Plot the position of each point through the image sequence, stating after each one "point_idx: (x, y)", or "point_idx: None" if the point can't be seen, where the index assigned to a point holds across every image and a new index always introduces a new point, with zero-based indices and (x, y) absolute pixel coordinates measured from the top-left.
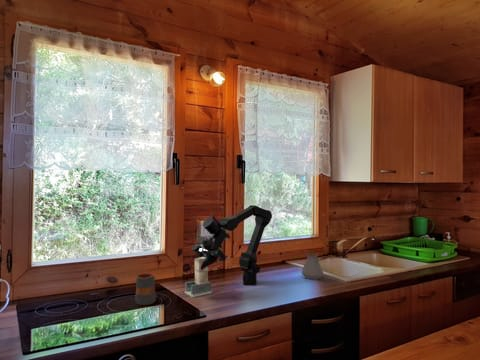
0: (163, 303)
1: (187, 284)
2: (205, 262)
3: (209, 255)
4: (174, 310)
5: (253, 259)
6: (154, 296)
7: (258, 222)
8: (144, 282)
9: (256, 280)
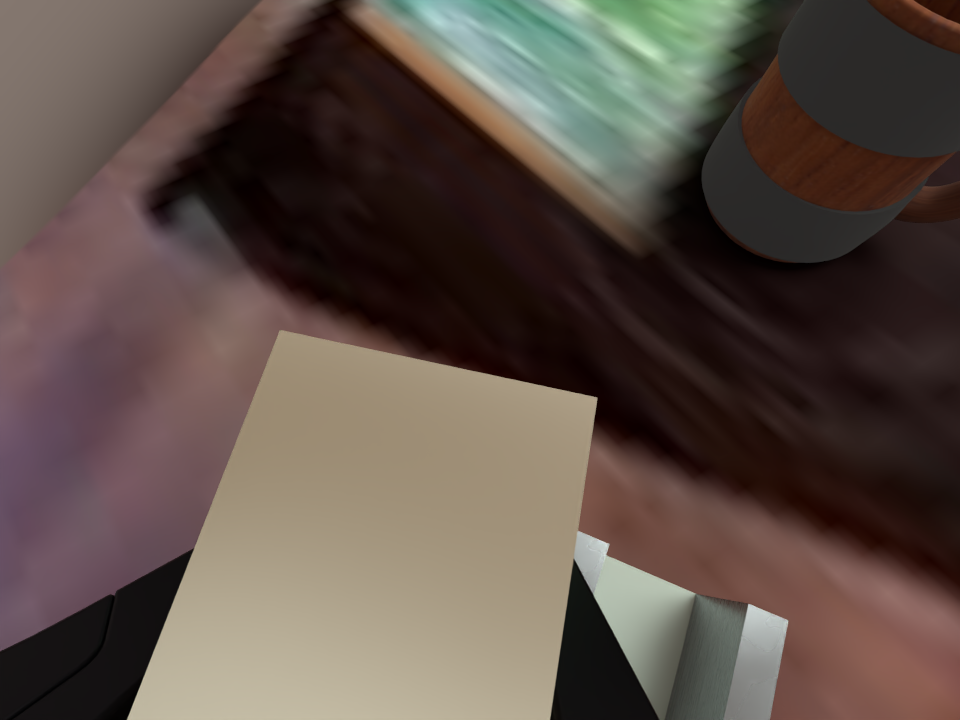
0: (640, 252)
1: (733, 619)
2: (124, 601)
3: None
4: (442, 184)
5: None
6: (730, 180)
7: None
8: None
9: None
